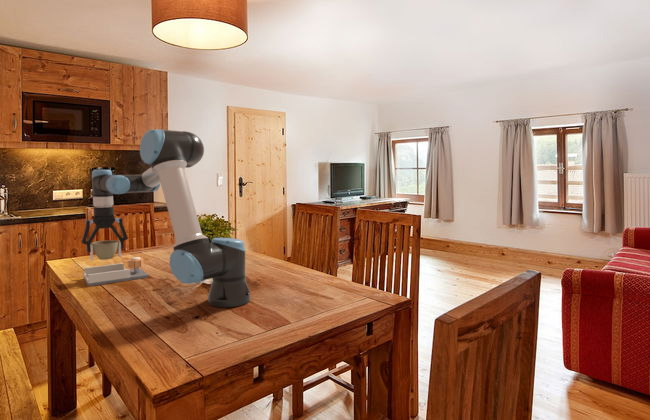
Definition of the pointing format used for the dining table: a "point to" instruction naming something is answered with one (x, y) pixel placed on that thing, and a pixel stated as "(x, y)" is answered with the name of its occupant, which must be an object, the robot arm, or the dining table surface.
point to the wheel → (136, 262)
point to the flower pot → (105, 249)
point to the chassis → (111, 274)
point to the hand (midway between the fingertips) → (106, 258)
